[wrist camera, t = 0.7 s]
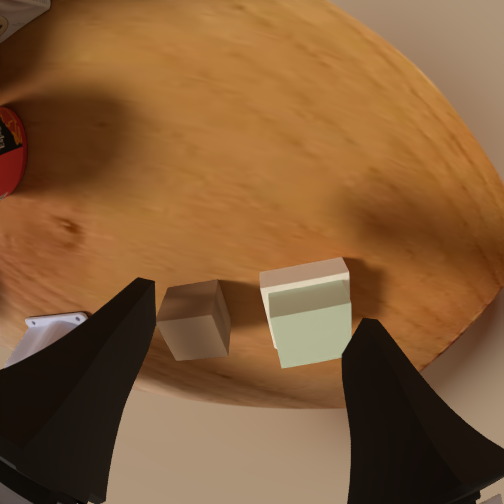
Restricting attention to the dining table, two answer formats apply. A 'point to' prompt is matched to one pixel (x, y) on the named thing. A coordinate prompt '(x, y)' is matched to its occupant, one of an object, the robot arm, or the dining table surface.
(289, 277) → the tower base
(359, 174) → the dining table surface
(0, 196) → the canned food
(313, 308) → the tower mid
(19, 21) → the coffee box
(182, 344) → the walnut cube
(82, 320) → the robot arm
